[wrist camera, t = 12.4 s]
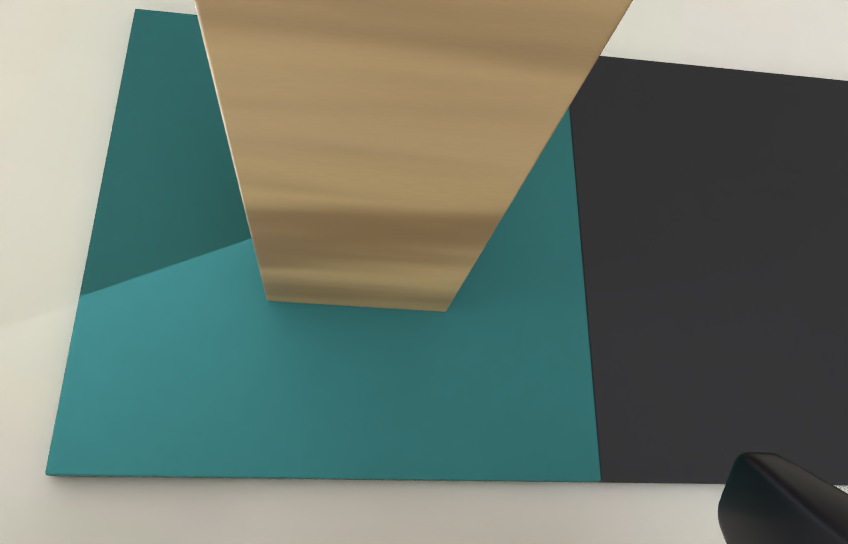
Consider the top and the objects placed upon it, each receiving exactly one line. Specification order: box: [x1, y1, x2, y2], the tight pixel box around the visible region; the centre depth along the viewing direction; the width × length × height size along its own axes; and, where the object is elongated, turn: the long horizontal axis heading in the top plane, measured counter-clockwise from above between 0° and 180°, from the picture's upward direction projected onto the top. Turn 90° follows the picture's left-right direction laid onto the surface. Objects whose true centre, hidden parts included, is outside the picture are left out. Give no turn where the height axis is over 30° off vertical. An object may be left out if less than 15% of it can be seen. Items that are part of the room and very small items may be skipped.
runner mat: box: [46, 9, 848, 485], centre depth 21 cm, size 14×30×1 cm, turn 90°
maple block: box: [194, 0, 633, 312], centre depth 13 cm, size 5×5×13 cm
